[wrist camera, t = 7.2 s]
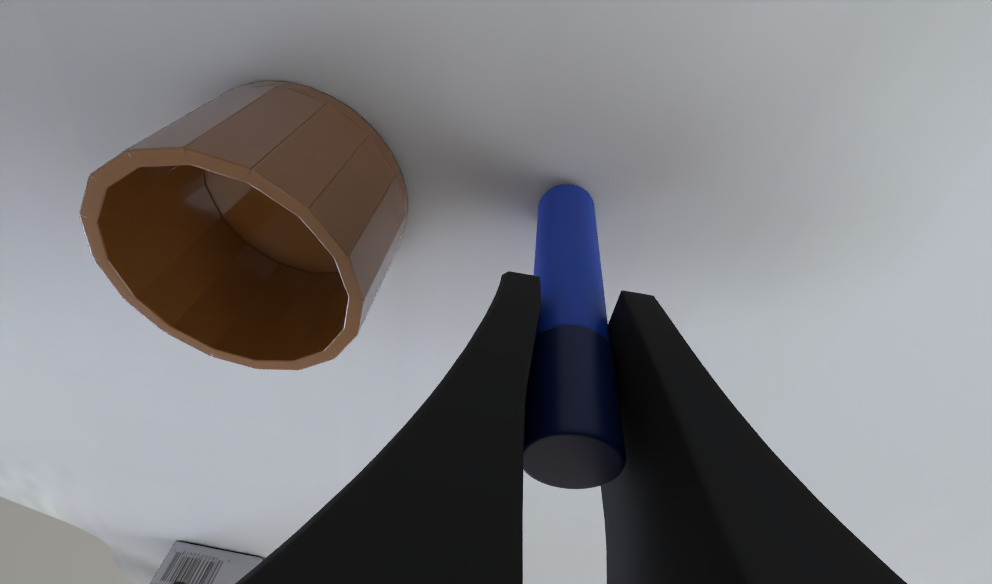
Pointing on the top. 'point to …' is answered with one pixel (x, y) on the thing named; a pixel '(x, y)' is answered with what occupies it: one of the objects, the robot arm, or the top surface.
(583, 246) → the marker
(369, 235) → the brown wooden bowl
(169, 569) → the coffee box
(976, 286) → the top surface
